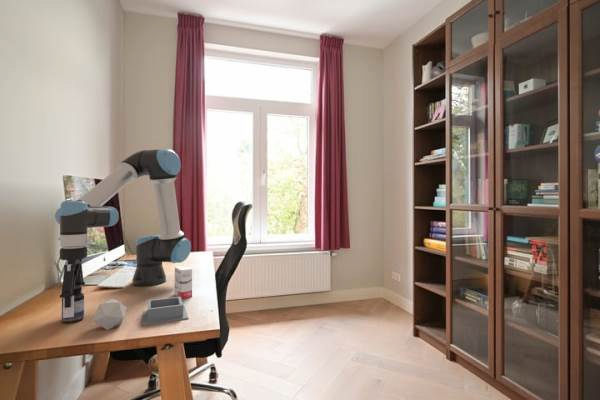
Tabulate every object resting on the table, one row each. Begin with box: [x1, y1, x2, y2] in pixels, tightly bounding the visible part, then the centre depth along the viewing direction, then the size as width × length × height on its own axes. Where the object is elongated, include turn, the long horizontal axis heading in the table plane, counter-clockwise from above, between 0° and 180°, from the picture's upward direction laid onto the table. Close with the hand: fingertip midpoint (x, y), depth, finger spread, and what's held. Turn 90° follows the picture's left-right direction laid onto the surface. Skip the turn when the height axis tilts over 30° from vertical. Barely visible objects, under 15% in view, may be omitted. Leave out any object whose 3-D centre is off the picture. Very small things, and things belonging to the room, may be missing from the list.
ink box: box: [173, 265, 193, 299], centre depth 135 cm, size 8×5×12 cm, turn 39°
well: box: [141, 296, 189, 326], centre depth 111 cm, size 14×14×4 cm
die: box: [92, 298, 128, 331], centre depth 101 cm, size 8×9×10 cm
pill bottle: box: [61, 285, 85, 324], centre depth 106 cm, size 6×6×11 cm
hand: (73, 310), depth 106 cm, fingers open, 13 cm apart
